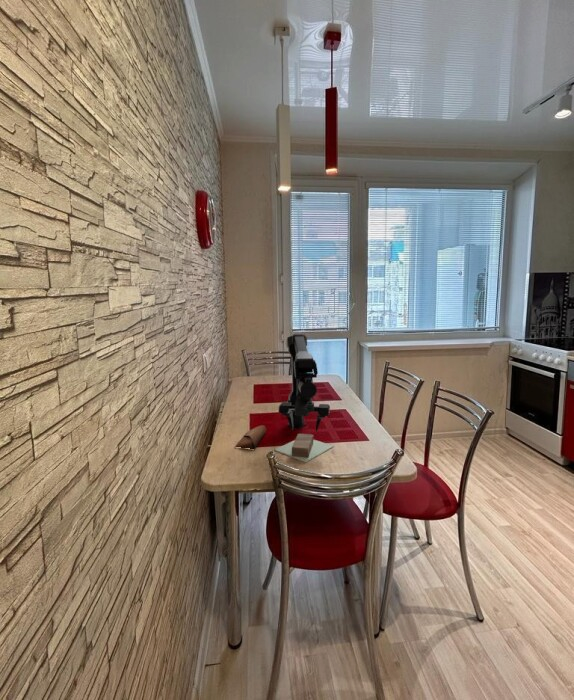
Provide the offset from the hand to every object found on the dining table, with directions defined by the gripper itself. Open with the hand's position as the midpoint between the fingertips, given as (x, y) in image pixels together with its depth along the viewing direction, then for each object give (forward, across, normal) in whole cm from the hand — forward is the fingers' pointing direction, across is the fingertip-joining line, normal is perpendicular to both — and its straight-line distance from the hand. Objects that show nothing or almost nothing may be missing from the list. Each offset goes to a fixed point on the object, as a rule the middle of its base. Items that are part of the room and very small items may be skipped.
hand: (304, 430), depth 140 cm
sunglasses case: (+8, -22, +3) cm, 24 cm away
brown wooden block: (+5, 0, +4) cm, 6 cm away
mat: (+7, 0, -1) cm, 7 cm away
